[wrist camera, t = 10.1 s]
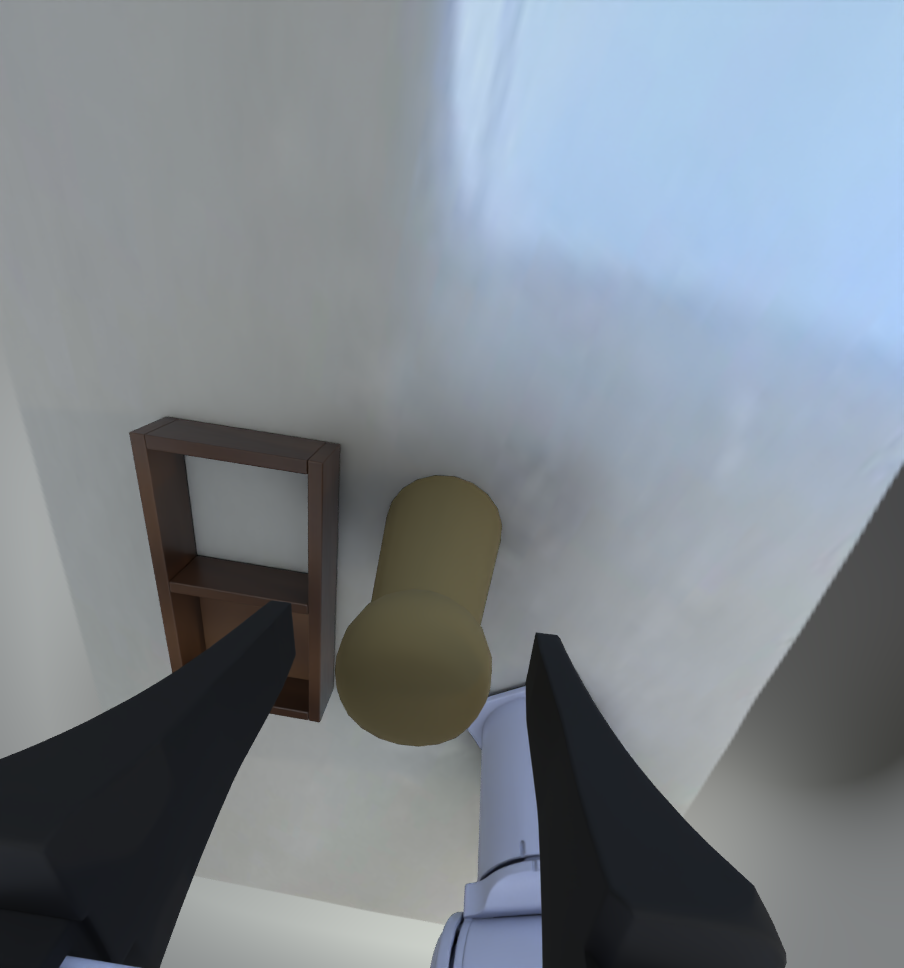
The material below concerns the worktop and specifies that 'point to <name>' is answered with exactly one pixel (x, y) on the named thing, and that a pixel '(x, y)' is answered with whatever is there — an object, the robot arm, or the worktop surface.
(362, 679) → the cork
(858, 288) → the worktop surface
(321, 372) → the worktop surface
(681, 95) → the worktop surface
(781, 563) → the worktop surface
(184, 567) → the caddy
